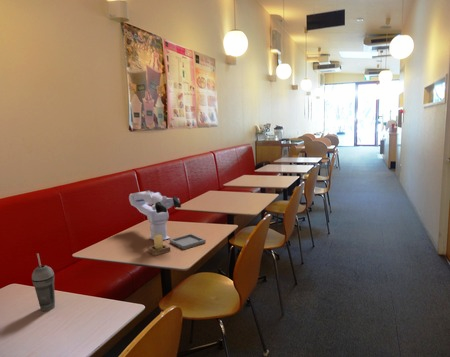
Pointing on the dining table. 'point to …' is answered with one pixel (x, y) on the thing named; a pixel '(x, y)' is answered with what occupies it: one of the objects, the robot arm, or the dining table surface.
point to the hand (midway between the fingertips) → (173, 207)
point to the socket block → (160, 251)
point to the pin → (158, 241)
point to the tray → (187, 241)
